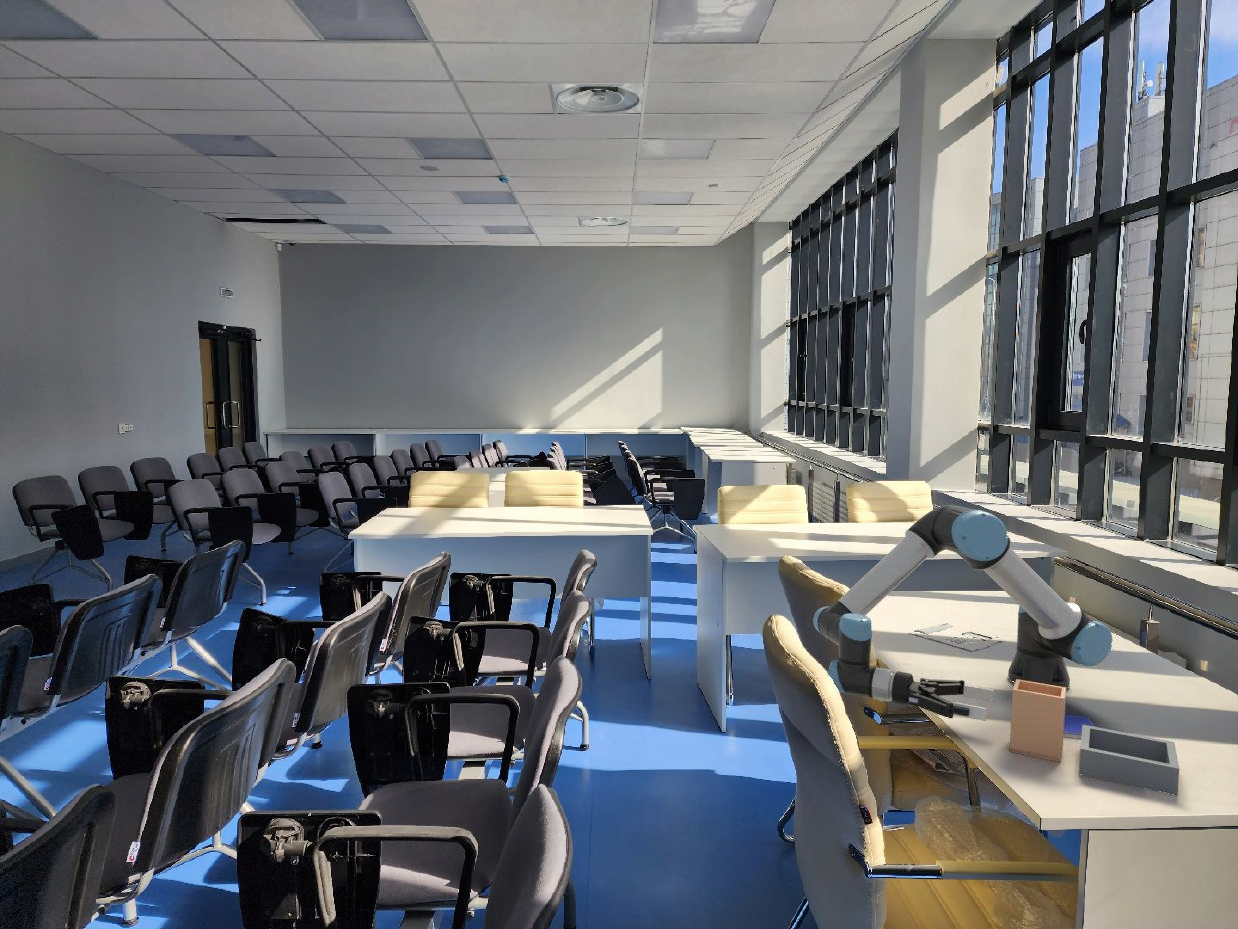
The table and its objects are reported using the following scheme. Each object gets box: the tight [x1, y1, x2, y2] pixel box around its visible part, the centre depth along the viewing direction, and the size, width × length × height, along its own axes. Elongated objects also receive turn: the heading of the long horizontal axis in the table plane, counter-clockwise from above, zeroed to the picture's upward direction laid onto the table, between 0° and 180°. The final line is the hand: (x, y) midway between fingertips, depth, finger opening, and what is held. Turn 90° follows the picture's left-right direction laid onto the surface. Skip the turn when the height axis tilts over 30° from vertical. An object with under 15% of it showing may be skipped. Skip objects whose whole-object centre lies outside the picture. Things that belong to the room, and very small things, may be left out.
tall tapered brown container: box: [1009, 679, 1067, 763], centre depth 181 cm, size 8×10×14 cm
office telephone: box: [913, 623, 999, 646], centre depth 268 cm, size 23×3×20 cm
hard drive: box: [1063, 714, 1096, 739], centre depth 194 cm, size 2×8×12 cm
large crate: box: [1078, 725, 1180, 796], centre depth 172 cm, size 15×17×6 cm
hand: (990, 705), depth 186 cm, fingers open, 13 cm apart
